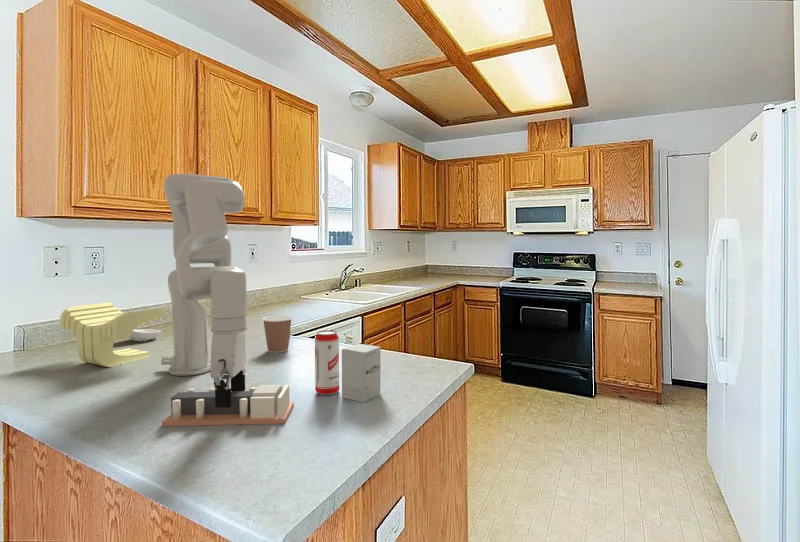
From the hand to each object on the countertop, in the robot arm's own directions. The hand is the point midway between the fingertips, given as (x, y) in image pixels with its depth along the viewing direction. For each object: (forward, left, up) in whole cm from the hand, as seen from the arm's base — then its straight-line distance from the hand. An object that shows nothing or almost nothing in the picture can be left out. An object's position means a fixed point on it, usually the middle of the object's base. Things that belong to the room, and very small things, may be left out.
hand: (231, 398), depth 97 cm
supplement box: (+29, +11, -4) cm, 31 cm away
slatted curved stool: (-54, +48, -4) cm, 72 cm away
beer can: (+20, +14, -4) cm, 25 cm away
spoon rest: (-64, +74, -4) cm, 98 cm away
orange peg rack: (0, 0, -4) cm, 4 cm away
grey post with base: (0, 0, -3) cm, 3 cm away
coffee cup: (-3, +59, -4) cm, 59 cm away
